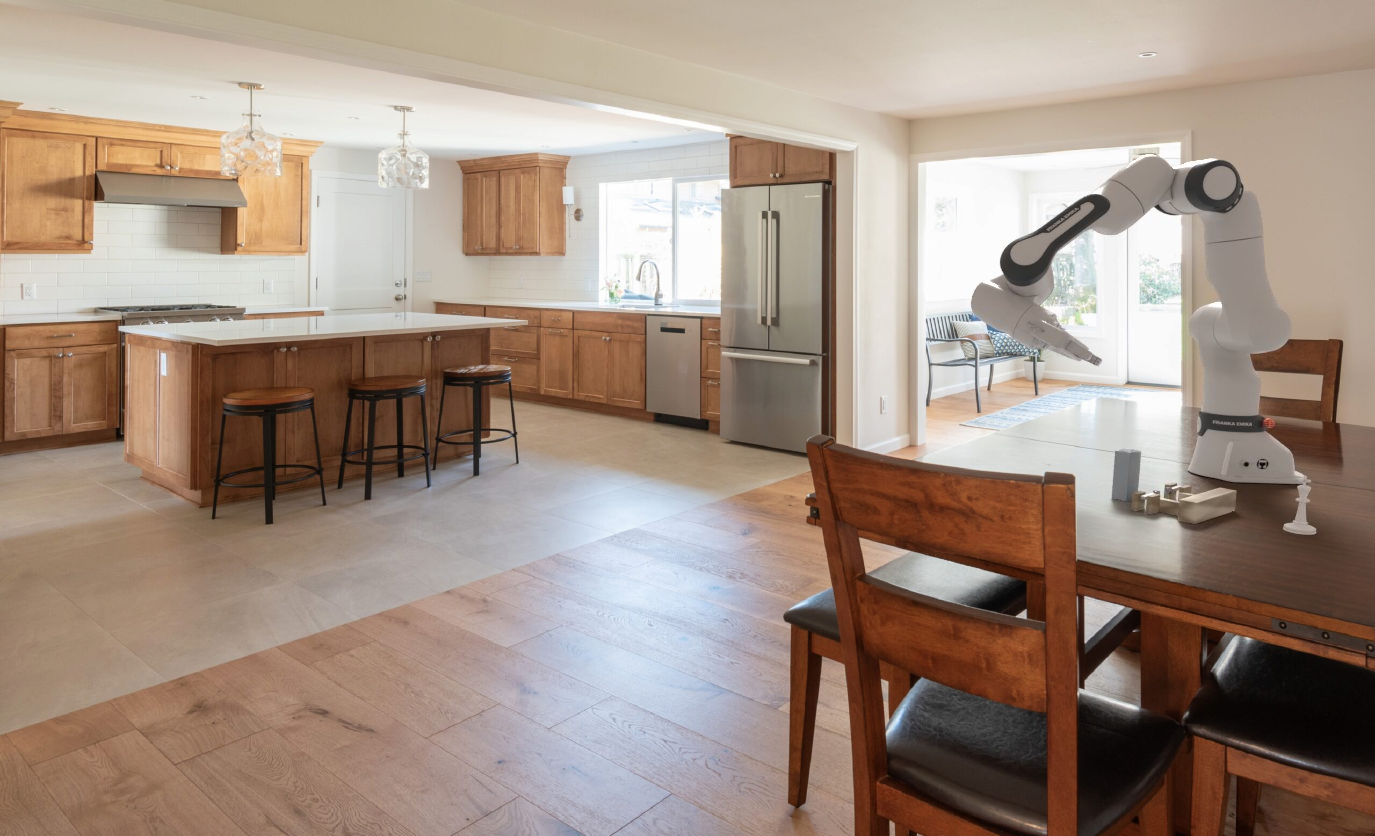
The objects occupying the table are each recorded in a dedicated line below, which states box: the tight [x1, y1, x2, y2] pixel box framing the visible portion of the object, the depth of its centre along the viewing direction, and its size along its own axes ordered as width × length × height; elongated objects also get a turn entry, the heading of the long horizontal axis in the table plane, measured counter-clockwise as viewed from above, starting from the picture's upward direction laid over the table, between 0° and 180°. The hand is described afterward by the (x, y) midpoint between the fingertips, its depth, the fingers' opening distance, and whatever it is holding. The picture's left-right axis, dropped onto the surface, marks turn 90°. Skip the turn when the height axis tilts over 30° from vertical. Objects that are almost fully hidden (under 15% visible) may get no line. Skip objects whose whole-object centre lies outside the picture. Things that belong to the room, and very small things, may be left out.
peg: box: [1111, 447, 1142, 503], centre depth 178 cm, size 4×4×10 cm
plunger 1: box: [1141, 489, 1161, 501], centre depth 170 cm, size 1×6×1 cm, turn 126°
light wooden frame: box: [1130, 481, 1238, 525], centre depth 170 cm, size 12×16×4 cm
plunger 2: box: [1164, 485, 1182, 494], centre depth 175 cm, size 1×6×1 cm, turn 126°
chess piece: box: [1282, 475, 1317, 536], centre depth 155 cm, size 5×5×10 cm
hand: (1095, 360), depth 184 cm, fingers open, 8 cm apart
